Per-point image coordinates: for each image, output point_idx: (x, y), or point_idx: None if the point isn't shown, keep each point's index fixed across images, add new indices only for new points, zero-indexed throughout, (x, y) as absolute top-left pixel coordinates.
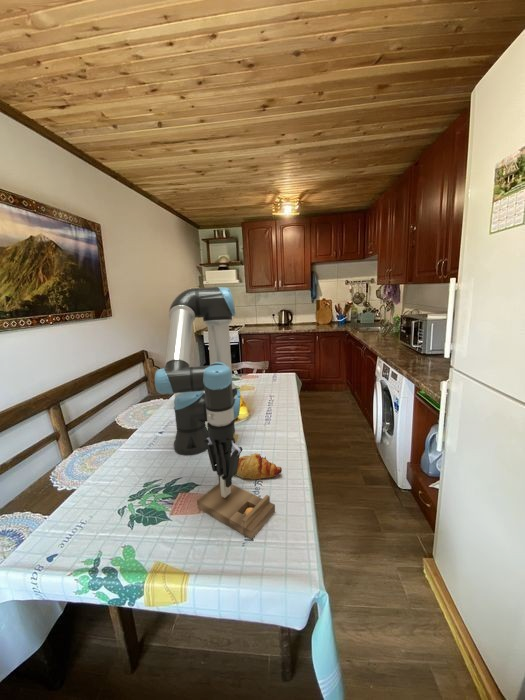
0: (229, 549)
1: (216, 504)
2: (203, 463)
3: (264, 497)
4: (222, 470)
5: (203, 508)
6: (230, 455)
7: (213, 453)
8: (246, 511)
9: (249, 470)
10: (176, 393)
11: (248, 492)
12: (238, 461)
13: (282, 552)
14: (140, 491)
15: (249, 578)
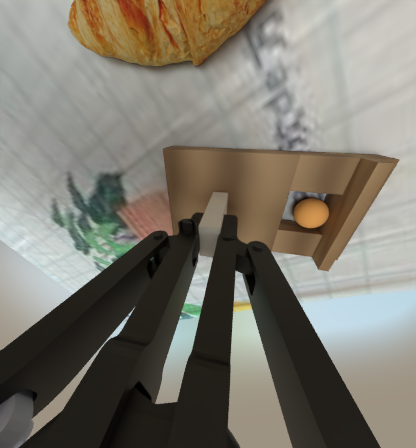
0: (292, 270)
1: None
2: (30, 80)
3: (370, 180)
4: (193, 250)
5: None
6: (230, 346)
7: (107, 321)
8: (305, 225)
9: (217, 26)
10: None
11: (275, 155)
12: (311, 329)
13: (411, 248)
14: (73, 236)
15: (346, 293)
